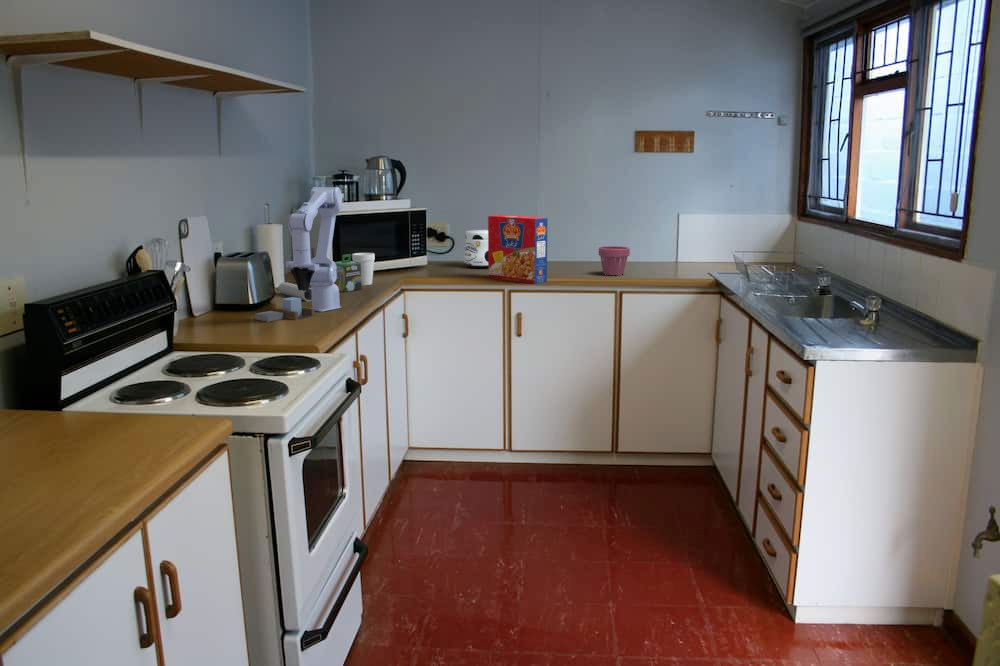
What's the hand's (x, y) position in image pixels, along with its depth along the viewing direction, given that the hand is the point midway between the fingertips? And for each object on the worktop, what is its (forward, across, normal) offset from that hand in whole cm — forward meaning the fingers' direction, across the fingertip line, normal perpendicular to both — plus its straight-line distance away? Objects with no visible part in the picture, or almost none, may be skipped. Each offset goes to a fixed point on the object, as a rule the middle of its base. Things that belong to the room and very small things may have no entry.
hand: (303, 290), depth 266 cm
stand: (+9, -8, -8) cm, 15 cm away
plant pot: (+10, +35, +154) cm, 158 cm away
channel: (+9, -5, 0) cm, 11 cm away
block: (+10, -6, 0) cm, 12 cm away
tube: (+10, -37, +27) cm, 46 cm away
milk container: (+10, -32, +140) cm, 144 cm away
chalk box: (+10, -33, +50) cm, 61 cm away
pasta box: (+10, +8, +114) cm, 115 cm away
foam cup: (+10, -39, +66) cm, 77 cm away
